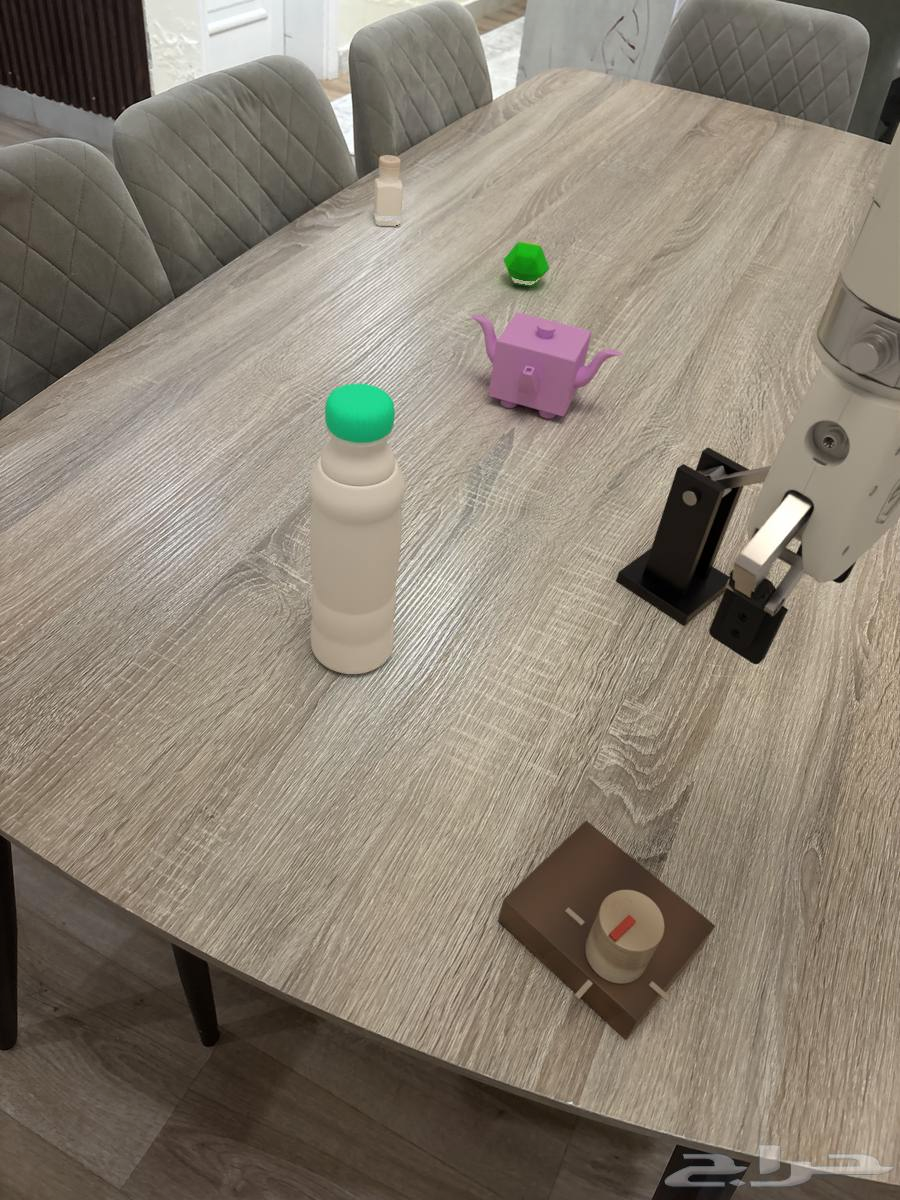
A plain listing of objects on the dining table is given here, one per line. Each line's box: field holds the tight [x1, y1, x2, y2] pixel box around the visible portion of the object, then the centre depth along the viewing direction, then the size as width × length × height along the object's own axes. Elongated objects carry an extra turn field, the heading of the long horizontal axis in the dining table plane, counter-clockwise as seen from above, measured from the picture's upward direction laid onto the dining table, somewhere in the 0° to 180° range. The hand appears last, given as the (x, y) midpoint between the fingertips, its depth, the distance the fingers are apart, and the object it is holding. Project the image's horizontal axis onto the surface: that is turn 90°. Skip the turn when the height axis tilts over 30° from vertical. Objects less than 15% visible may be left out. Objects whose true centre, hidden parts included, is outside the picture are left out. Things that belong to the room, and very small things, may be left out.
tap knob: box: [585, 890, 664, 984], centre depth 58 cm, size 4×4×5 cm
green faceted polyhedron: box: [503, 241, 550, 287], centre depth 134 cm, size 7×6×9 cm
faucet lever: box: [697, 465, 771, 497], centre depth 77 cm, size 17×3×3 cm
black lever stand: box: [615, 446, 750, 626], centre depth 86 cm, size 8×8×14 cm
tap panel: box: [497, 820, 716, 1041], centre depth 63 cm, size 12×11×3 cm
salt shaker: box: [373, 154, 404, 227], centre depth 143 cm, size 4×4×10 cm
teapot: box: [470, 311, 623, 420], centre depth 109 cm, size 18×13×10 cm
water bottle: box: [308, 382, 406, 675], centre depth 72 cm, size 7×7×25 cm
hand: (779, 606), depth 54 cm, fingers open, 9 cm apart
